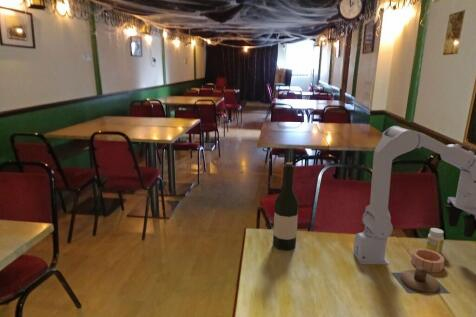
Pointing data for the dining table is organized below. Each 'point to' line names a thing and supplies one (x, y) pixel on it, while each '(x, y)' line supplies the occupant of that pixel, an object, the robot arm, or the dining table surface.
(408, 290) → the mat
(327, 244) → the dining table surface
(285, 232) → the wine bottle
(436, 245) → the supplement bottle
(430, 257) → the bowl
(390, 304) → the dining table surface
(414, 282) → the lid
